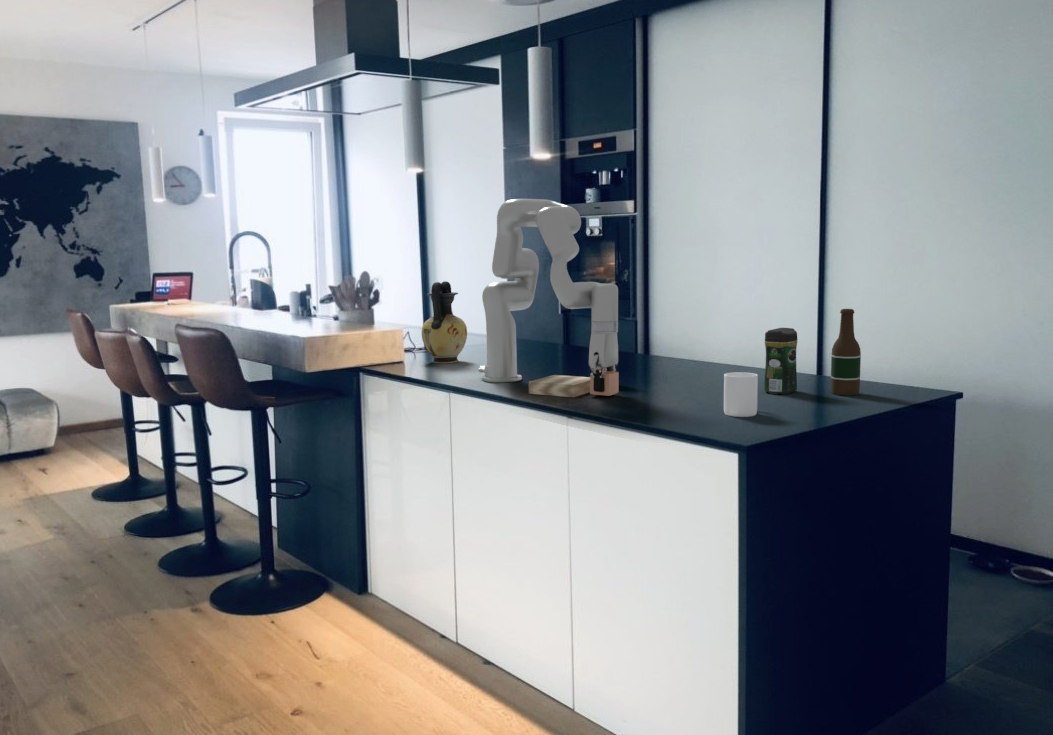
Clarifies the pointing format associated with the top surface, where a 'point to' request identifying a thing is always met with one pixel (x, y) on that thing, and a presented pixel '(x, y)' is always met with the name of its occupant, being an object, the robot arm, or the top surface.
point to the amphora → (443, 326)
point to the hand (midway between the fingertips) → (604, 389)
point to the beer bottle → (846, 358)
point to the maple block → (560, 386)
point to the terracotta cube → (606, 383)
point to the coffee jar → (780, 361)
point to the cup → (740, 394)
